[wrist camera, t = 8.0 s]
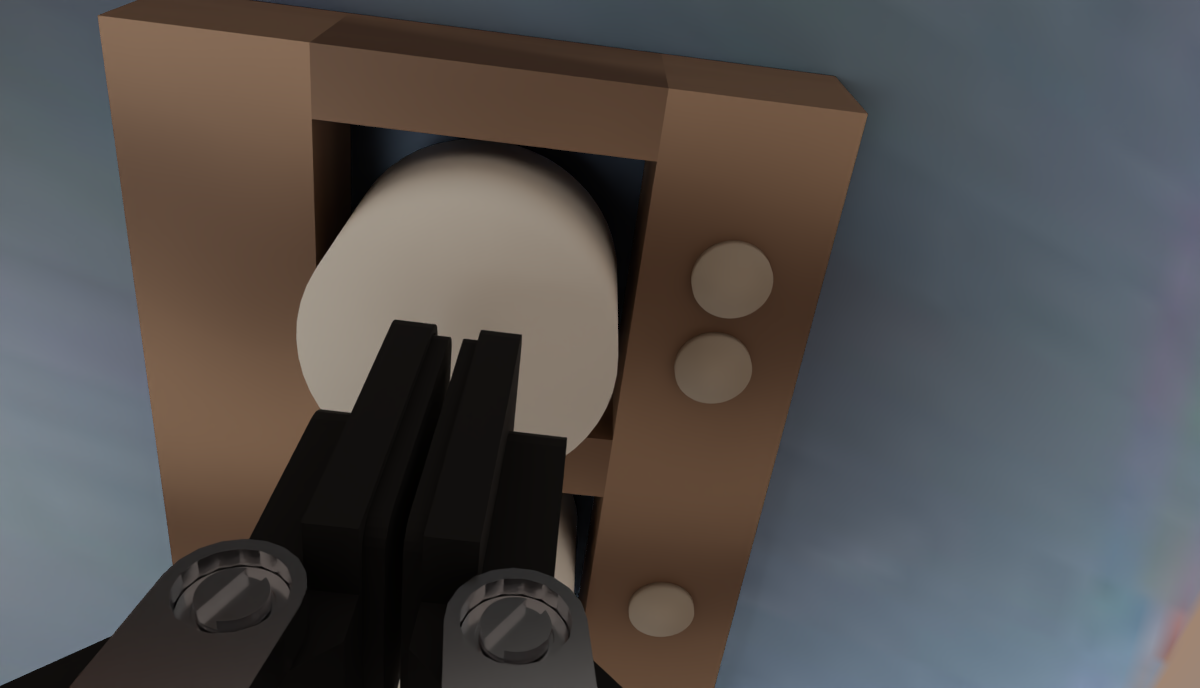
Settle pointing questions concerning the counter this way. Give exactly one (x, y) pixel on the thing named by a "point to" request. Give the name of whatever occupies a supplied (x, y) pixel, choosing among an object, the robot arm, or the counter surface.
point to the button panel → (509, 115)
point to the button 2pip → (473, 279)
